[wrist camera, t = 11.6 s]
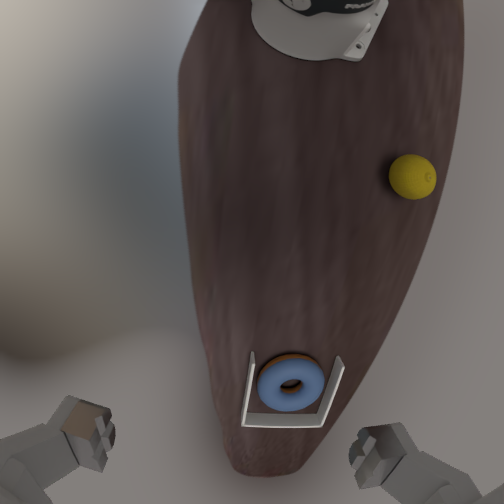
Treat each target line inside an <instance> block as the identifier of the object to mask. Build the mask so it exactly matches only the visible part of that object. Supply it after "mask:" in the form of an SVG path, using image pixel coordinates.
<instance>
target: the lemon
mask: <svg viewBox="0 0 504 504" xmlns="http://www.w3.org/2000/svg"><path fill="white" fill-rule="evenodd" d="M389 181H390V184H391V186H392V188H393V189H394V191H395V192H396V193H398V194H399V195H400V196H402V197H404V198H407V199H421V198H424V197H426V196H428V195H429V194H430V193H431V192H432V191H433V189H434V187H435V184H436V173H435V170H434V168H433V166H432V165H431V163H430V162H429V161H428V160H426V159H425V158H423V157H421V156H418V155H411V154H408V155H404V156H401V157H399V158H397V159H396V160H395V161H394V162H393V163H392V165H391V167H390V170H389Z"/></svg>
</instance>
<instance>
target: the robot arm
mask: <svg viewBox="0 0 504 504" xmlns="http://www.w3.org/2000/svg"><path fill="white" fill-rule="evenodd" d="M251 1H252V12H251V17H252V22H253V25H254V27H255V29H256V31H257V32H258V34H259V35H260V36H261V37H262V39H263V40H264V41H266V42H267V43H268V44H269V45H270V46H272V47H273V48H275V49H277V50H278V51H280V52H282V53H284V54H287V55H289V56H292V57H296V58H300V59H305V60H327V59H333V58H340V59H345V60H349V61H360V60H361V59H362V58H363V56H364V55H365V52H366V50H367V48H368V46H369V44H370V42H371V40H372V38H373V36H374V34H375V32H376V29H377V27H378V25H379V23H380V21H381V19H382V17H383V15H384V13H385V10H386V8H387V6H388V0H251ZM356 46H358V47H359V48H360V49H358V48H357V47H356ZM111 417H112V414H111V410H110V409H109V408H107V407H103V406H100V405H97V404H94V403H91V402H88V401H85V400H82V399H79V398H76V397H73V396H71V395H68V396H66V397H65V398H64V400H63V401H62V402H61V404H60V405H59V407H58V408H57V409H56V411H55V412H54V414H53V415H52V417H51V418H50V420H49V421H48V423H47V424H46V425H45V424H43V423H42V424H40V425H37V426H35V427H32V428H30V429H27V430H24V431H22V432H19V433H17V434H14V435H11V436H8V437H5V438H3V439H0V504H53V503H52V501H51V500H50V498H49V497H48V496H47V494H45V492H44V491H43V490H44V489H45V488H47V487H48V486H50V485H51V484H53V483H55V482H56V481H58V480H60V479H61V478H63V477H64V476H66V475H67V474H69V473H70V472H72V471H73V470H75V469H77V468H78V467H79V465H80V466H83V467H86V468H89V469H92V470H95V471H98V472H101V473H102V472H103V469H104V467H105V465H106V462H107V460H108V457H107V454H106V452H108V451H110V450H111V449H112V447H113V445H114V441H115V427H114V424H113V423H112V422H111V421H110V419H111ZM357 436H358V440H356V441H355V442H353V443H352V445H351V447H350V449H349V462H350V465H351V467H353V468H354V469H356V470H357V471H356V473H355V479H356V481H357V484H358V487H359V489H364V488H370V487H375V486H380V485H381V487H382V488H383V489H384V490H385V491H387V492H388V493H389V494H390V495H391V496H393V497H394V498H395V499H396V500H398V501H399V502H400V503H401V504H504V483H503V484H502V485H501V486H499V487H498V488H496V489H494V490H493V491H491V492H490V493H488V494H487V495H485V496H483V497H482V495H481V494H480V492H479V491H478V489H477V487H476V486H475V484H474V483H473V481H472V480H471V478H470V476H469V475H468V474H466V473H464V472H462V471H460V470H458V469H456V468H454V467H452V466H450V465H448V464H446V463H444V462H442V461H440V460H438V459H436V458H435V457H433V456H431V455H429V454H427V453H425V452H424V451H421V452H419V450H418V449H417V447H416V445H415V444H414V442H413V440H412V439H411V437H410V435H409V434H408V432H407V431H406V429H405V427H404V425H403V424H402V423H400V422H399V423H393V424H387V425H386V424H385V425H378V426H371V427H364V428H362V429H360V430H359V432H358V434H357Z"/></svg>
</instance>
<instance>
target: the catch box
mask: <svg viewBox="0 0 504 504" xmlns="http://www.w3.org/2000/svg"><path fill="white" fill-rule="evenodd" d="M254 367H255V357H254V352H251V356H250V363H249V369H248V375H247V381H246V387H245V394H244V400H243V406H242V412H241V426H248V427H271V428H308V427H322V426H323V423H324V421H325V419H326V416H327V414H328V411H329V409H330V406H331V404H332V401H333V398H334V396H335V393H336V391H337V388H338V385H339V382H340V380H341V377H342V374H343V371H344V368H345V366H344V364H343V363H342V361H341V359H340V357H339V356H336V359H335V362H334V365H333V368H332V372H331V375H330V378H329V381H328V384H327V386H326V389H325V392H324V395H323V398H322V401H321V403H320V406H319V409H318V412H317V414H270V413H250V412H247V407H248V401H249V396H250V390H251V385H252V379H253V373H254Z"/></svg>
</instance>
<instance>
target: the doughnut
mask: <svg viewBox="0 0 504 504" xmlns="http://www.w3.org/2000/svg"><path fill="white" fill-rule="evenodd" d="M291 379H298V380H301V383H300V384H299V385H297V386H296V387H293V388H282V387H281V384H282V383H284V382H285V381H287V380H291ZM324 382H325V380H324V375H323V371H322V369H321V367H320V366H319V365H318V364H317V362H316V361H315V360H313V359H311V358H310V357H308V356H305V355H300V354H286V355H283V356H280V357H277V358H275V359H273V360H272V361H270V362H268V363H267V364H266V366H265V367H264V368H263V369H262V370H261V371H260V374H259V376H258V378H257V391H258V394H259V396H260V398H261V400H262V401H263V402H264V403H265V404H266V405H267V406H268V407H271V408H273V409H275V410H279V411H296V410H299V409H302V408H305V407H307V406H308V405H310V404H312V403H313V402H314V401H315V400H316V399H317V398H318V397H319V396H320V394H321V392H322V390H323V388H324Z"/></svg>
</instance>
